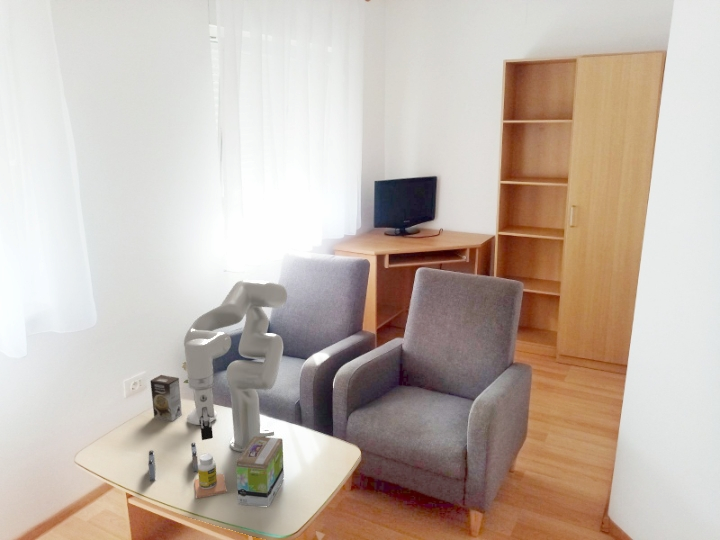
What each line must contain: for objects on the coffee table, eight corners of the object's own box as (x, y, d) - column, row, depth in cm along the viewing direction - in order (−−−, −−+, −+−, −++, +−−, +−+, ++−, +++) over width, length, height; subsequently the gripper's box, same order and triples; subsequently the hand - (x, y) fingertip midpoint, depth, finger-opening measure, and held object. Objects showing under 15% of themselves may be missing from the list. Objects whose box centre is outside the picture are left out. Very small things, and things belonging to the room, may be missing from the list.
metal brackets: (197, 458, 188) (195, 441, 186) (198, 471, 181) (196, 453, 179) (150, 468, 183) (148, 450, 182) (150, 481, 176) (148, 463, 174)
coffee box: (153, 418, 217) (149, 380, 213) (164, 410, 223) (160, 374, 219) (172, 421, 214) (168, 383, 210) (182, 414, 220) (179, 377, 216)
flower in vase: (223, 416, 218) (218, 357, 212) (205, 429, 207) (200, 368, 202) (196, 410, 222) (190, 353, 216) (177, 424, 212) (171, 364, 206)
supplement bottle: (210, 491, 169) (207, 463, 167) (195, 487, 171) (193, 459, 169) (220, 481, 174) (218, 453, 172) (206, 478, 176) (203, 450, 173)
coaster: (223, 476, 178) (223, 473, 178) (226, 492, 170) (226, 489, 170) (194, 482, 175) (194, 479, 175) (196, 498, 167) (196, 496, 167)
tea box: (269, 508, 162) (266, 464, 158) (237, 505, 164) (234, 461, 160) (285, 478, 176) (282, 437, 173) (255, 475, 178) (252, 434, 175)
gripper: (216, 389, 157) (221, 442, 162) (211, 366, 173) (215, 415, 177) (189, 394, 155) (195, 447, 159) (186, 370, 171) (191, 419, 175)
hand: (206, 430), depth 168 cm, fingers open, 9 cm apart
